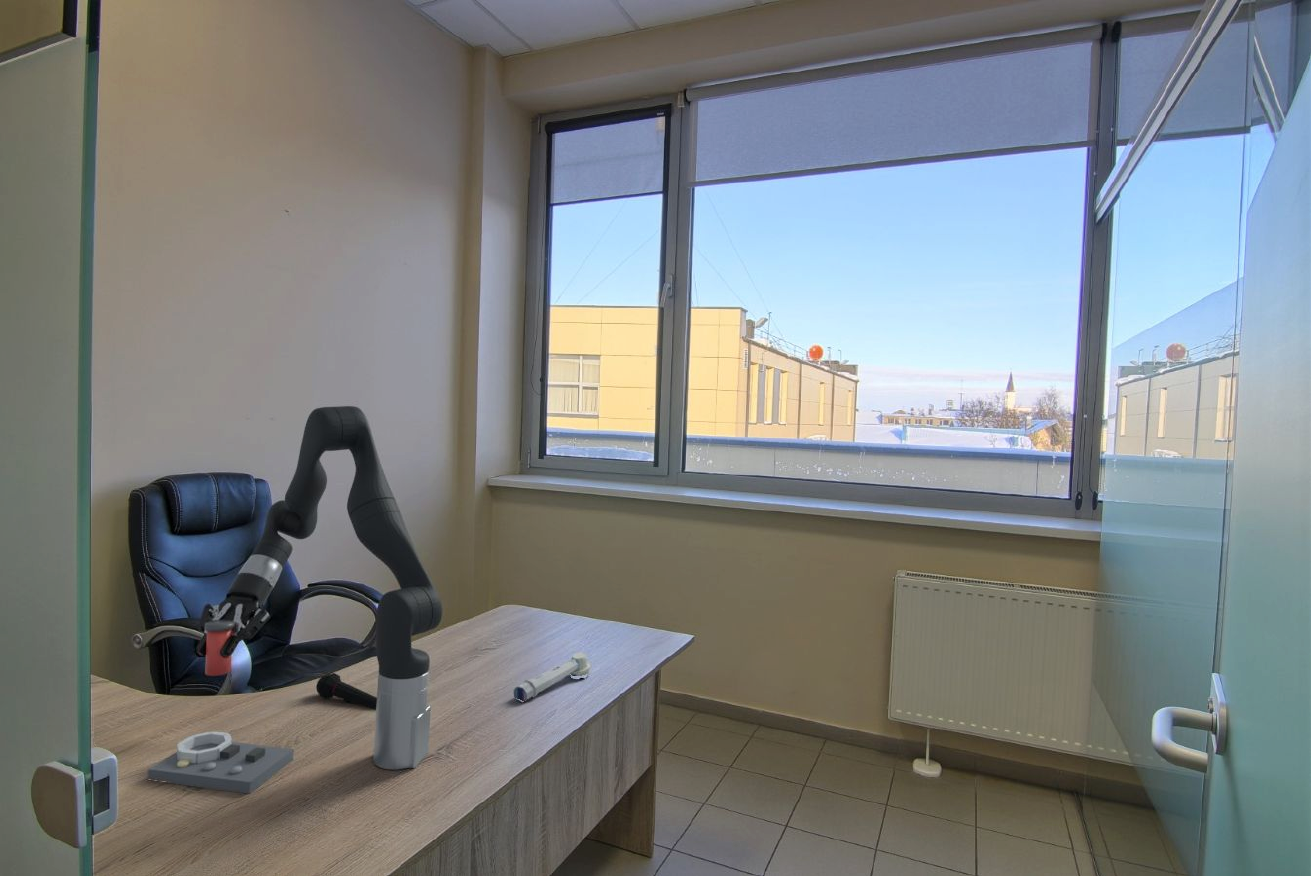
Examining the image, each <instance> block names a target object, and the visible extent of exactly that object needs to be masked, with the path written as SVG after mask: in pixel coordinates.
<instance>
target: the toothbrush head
mask: <svg viewBox="0 0 1311 876" xmlns="http://www.w3.org/2000/svg"><path fill="white" fill-rule="evenodd" d="M591 667H592V666H591V663H590V661H588V656H587V655H586V653H584V652H576V653H574V654H573V655H572V657H571V659H569V660H567V661H565V662H563V663H561V664H559V665H557V666H555V667H553V668H551V669H549V670H547V671H545V672H543V673H540V674H538V675H536V676H535V677H532V678H531V679H526V680H524V681H523V683H521V684H519V685H518V686H515V688H514V689H513V697H514V699H515V698H517V699H520V700H522V701H525V702H526V700H527V699H528V700H530V699H532V698H531V697H533V696H534V698H535V697H537V695H538V694H540V693H542V692H543V691H545V690H547V689H548V688H549V687H551V686H552V685H554V684H556V683H558V682H559V681H561V680H562V679H564V678H566V677H567V676H570V674H571V675H572V676H582V675H586V674H588V673H589V674H590V670H591ZM539 692H540V693H539ZM529 698H530V699H529ZM528 700H527V701H528Z"/></svg>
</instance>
